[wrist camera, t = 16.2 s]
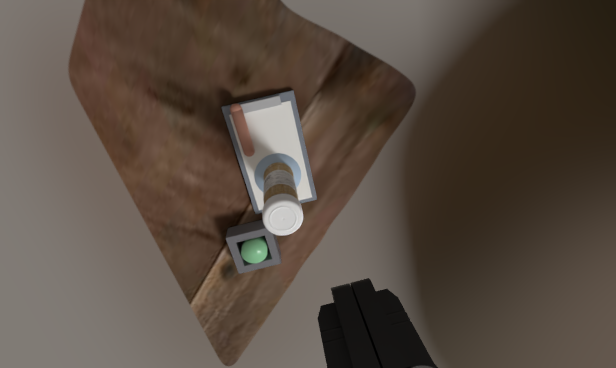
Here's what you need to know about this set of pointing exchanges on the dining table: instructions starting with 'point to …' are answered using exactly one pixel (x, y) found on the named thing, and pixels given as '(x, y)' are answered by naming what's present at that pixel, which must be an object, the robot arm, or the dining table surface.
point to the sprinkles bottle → (281, 200)
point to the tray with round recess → (272, 144)
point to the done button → (254, 249)
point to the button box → (250, 232)
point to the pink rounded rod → (242, 129)
